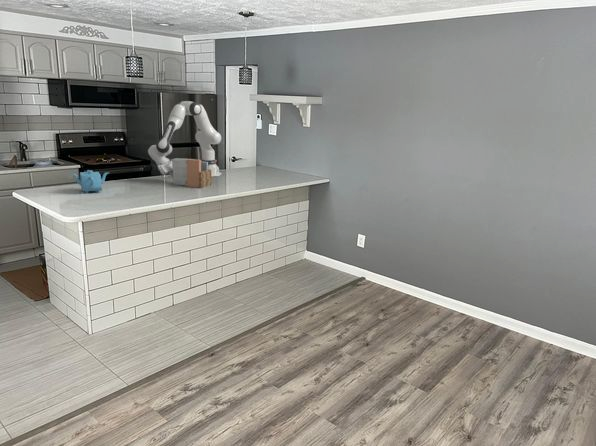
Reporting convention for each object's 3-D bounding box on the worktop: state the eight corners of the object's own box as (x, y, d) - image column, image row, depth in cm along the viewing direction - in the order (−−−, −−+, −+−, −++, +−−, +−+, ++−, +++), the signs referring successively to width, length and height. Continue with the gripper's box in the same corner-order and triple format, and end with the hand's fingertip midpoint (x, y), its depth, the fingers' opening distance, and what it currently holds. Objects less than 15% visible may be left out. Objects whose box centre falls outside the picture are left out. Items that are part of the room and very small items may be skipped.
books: (196, 183, 359) (196, 157, 353) (208, 184, 357) (208, 158, 351) (187, 186, 344) (186, 159, 339) (199, 187, 342) (199, 160, 336)
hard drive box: (195, 184, 355) (194, 159, 349) (190, 185, 347) (190, 160, 342) (177, 182, 358) (176, 157, 352) (172, 184, 350) (171, 158, 345)
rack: (209, 184, 358) (209, 169, 355) (211, 184, 357) (211, 169, 354) (199, 188, 341) (198, 172, 338) (201, 188, 341) (201, 172, 337)
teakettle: (93, 195, 301) (92, 173, 297) (70, 192, 305) (68, 171, 301) (111, 190, 318) (110, 169, 315) (89, 187, 323) (88, 167, 319)
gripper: (158, 162, 343) (170, 176, 343) (172, 159, 362) (183, 172, 362) (153, 167, 345) (165, 181, 345) (167, 164, 364) (178, 177, 364)
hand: (174, 176), depth 354 cm, fingers closed
